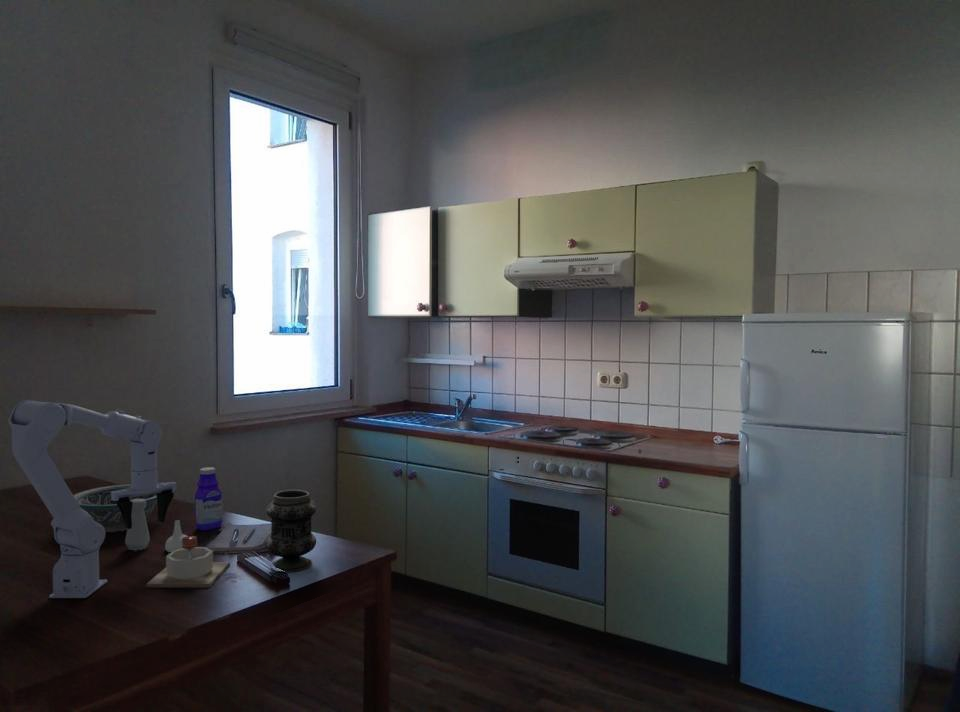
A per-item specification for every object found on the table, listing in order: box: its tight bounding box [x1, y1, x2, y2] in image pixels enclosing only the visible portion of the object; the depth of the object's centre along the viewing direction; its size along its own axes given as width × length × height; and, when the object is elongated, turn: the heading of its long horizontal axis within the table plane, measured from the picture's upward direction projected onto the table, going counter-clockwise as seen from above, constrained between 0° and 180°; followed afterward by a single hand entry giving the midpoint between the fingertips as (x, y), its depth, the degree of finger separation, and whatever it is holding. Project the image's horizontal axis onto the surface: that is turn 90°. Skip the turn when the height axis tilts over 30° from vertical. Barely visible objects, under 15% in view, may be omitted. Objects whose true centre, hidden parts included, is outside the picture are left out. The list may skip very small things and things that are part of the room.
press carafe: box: [165, 546, 214, 580], centre depth 163 cm, size 9×9×4 cm
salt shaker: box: [124, 499, 151, 552], centre depth 181 cm, size 6×6×13 cm
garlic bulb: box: [164, 519, 188, 553], centre depth 181 cm, size 6×6×8 cm
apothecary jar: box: [265, 489, 317, 573], centre depth 170 cm, size 12×12×18 cm
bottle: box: [194, 466, 223, 532], centre depth 199 cm, size 7×6×17 cm
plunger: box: [182, 535, 198, 559], centre depth 163 cm, size 6×6×8 cm
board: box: [146, 561, 231, 588], centre depth 163 cm, size 14×14×1 cm
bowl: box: [73, 483, 158, 533], centre depth 200 cm, size 25×25×10 cm
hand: (145, 524), depth 168 cm, fingers open, 7 cm apart
